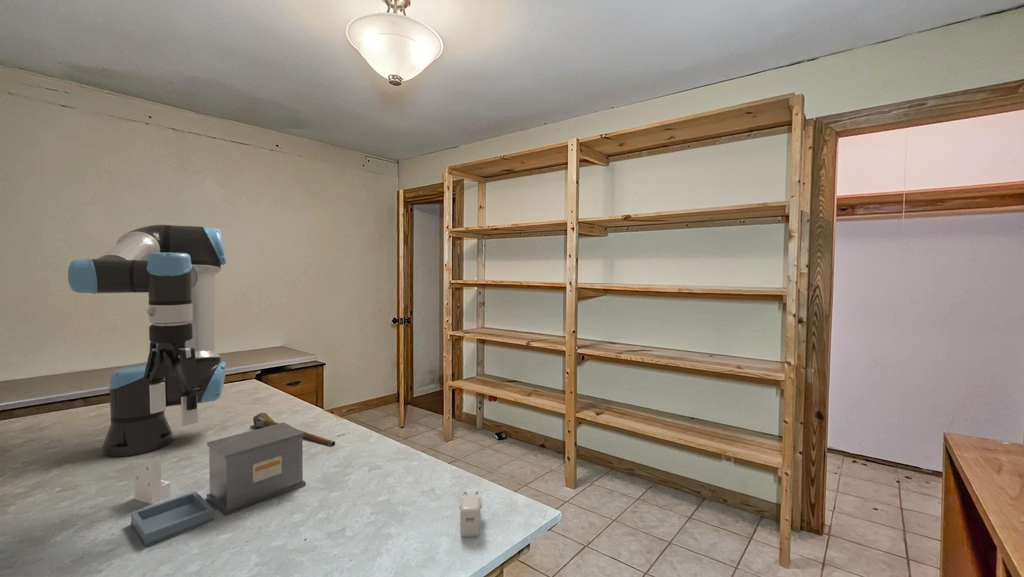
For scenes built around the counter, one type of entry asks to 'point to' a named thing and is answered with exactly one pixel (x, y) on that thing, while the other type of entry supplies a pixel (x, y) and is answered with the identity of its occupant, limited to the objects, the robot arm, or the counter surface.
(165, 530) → the tray
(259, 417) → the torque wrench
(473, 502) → the power adapter
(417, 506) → the counter surface
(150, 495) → the white wedge bracket
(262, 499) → the box
